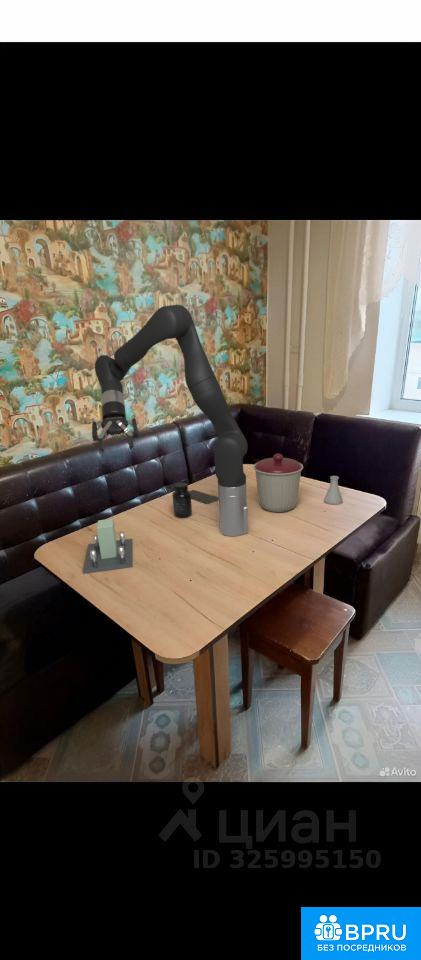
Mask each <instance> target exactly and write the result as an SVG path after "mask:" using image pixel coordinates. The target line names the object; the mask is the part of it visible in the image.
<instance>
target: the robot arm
mask: <svg viewBox="0 0 421 960" xmlns="http://www.w3.org/2000/svg"><path fill="white" fill-rule="evenodd" d="M193 319H194V318H193V317H192V315H191V313H190V310H188V309H187V308H186V307H185V306H184V305H180V304H172V305H171V304H170V305H169V304H168V305H163V306H161V307H158V309H157V310H156V311H155V312H154V313H153V314H152V315H151V317H149V319H148V321H147V322H146V323H145V324H144V325H143V327H141V328H140V330H139V331H137V333H135V335H133V337H131V338H130V339H129V340H127V341H126V342H124V343H123V344H122V345H121V346H120V347H118V348H117V350H115V352H114V355H113V357H111V356H108V355H107V354H106V355H105V354H103V355H100V356H98V357H97V358H96V360H95V363H94V371H95V375H96V377H97V380H98V383H99V385H100V387H101V391H100V392H101V403H100V404H101V414H102V415H101V416H102V419H101V420H102V421H101V422H96V421H95V420H93V421H92V422H91V429H92V430H91V436H92V437H91V438H92V441H93V442H97V443H98V450H99V451H100V452H101V453H105V446H104V445H105V444H104V441H105V439H107V438H108V437H109V435H110V436H114V435H118V436H119V435H121V434H122V435H124V437H126V438H127V439H128V448H129V450H132V449H133V448H134V446H135V445H134V439H135V438H139V430H138V425H137V420H136V418H135V417H134V418H132V419H130V420H128V419H127V414H126V403H125V402H126V401H125V397H124V390H123V389H124V388H123V384H122V382H121V381H123V380H124V379H125V377H126V375H127V374H128V373H129V371H130V370H131V368H132V367H134V365H135V366H136V364H137V363H138V362H140V361H142V360H143V358H145V356H146V355H147V354H148V352H149V351H150V350H151V349H152V347H154V346H155V345H157V344H159V343H161V342H165V341H166V340H172V339H175V340H176V342H177V344H178V346H179V348H180V350H181V353H182V357H183V362H184V363H183V364H184V379H185V384H186V386H187V388H188V391H189V393H190V396H191V397H192V399H193V401H194V403H195V404H196V406H197V407H198V409H199V410H200V411H201V412H202V413H203V414H204V415H205V416H206V417H207V419H208V420H209V422H210V423H211V425H212V426H213V428H214V430H215V433H216V435H217V438H218V440H217V441H216V443H215V445H214V449H213V456H214V457H213V458H214V459H213V460H214V472H215V476H216V478H217V491H218V493H217V494H218V496H217V497H219V499H218V514H219V516H218V517H219V531H220V533H221V534H222V535H224V536H227V537H239V536H242V535H245V534H248V533H249V532H248V531H249V528H248V524H249V523H248V522H249V521H248V505H247V475H246V473H245V472H244V457H245V455H246V454H247V453H248V442H247V439H246V437H245V435H244V434H243V431H242V430H241V428H240V427H239V425H238V423H237V422H236V420H235V418H234V416H233V414H232V412H231V409H230V407H229V404H228V402H227V400H226V398H225V397H226V396H225V395H224V393H223V390H222V387H221V386H220V383H219V381H218V379H217V376H216V375H215V373H214V371H213V369H212V366H211V364H210V362H209V360H208V359H209V358H208V357H207V355H206V352H205V350H204V348H203V345H202V343H201V340H200V337H199V335H198V334H199V333H198V331H197V329H196V325H195V322H194V320H193ZM128 426H130V427H131V428H133V431H130V430H129V428H128ZM100 428H102V430H101V432H100V433H99V434H98V431H99V430H100Z"/></svg>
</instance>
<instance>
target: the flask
mask: <svg viewBox="0 0 421 960" xmlns="http://www.w3.org/2000/svg"><path fill="white" fill-rule="evenodd" d="M339 478H340V477H339V476H337V475H332V476H331V475H330V478H329V479H330V483H329V486H328V490H327V491H326V492H327V493H326V494H325V496H324V498H323V503H325V502H326V503H325V504H329V505H336V504H338V505H340V504H343V498H342V494H341V492H340V491H341V490H340V487H339V481H338V480H339Z"/></svg>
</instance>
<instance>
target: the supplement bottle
mask: <svg viewBox="0 0 421 960" xmlns="http://www.w3.org/2000/svg"><path fill="white" fill-rule="evenodd" d="M173 487H174V491H173V493H172V494H171V495H172V507H173V516H174V517H175V518H178V519H187V518H190V517H191V516H192V515H193V509H192V508H193V506H192V499H191V493H190V491H191V490H189V487H188V483H186V482H177V483H175V484H174V486H173Z"/></svg>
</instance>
